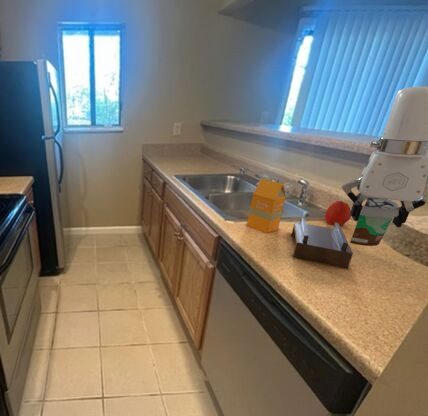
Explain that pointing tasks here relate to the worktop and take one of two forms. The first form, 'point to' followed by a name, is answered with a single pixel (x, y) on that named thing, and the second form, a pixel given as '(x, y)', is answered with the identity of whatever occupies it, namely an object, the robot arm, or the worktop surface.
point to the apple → (338, 213)
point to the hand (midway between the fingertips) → (375, 221)
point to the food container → (374, 221)
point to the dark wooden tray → (321, 244)
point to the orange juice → (267, 206)
